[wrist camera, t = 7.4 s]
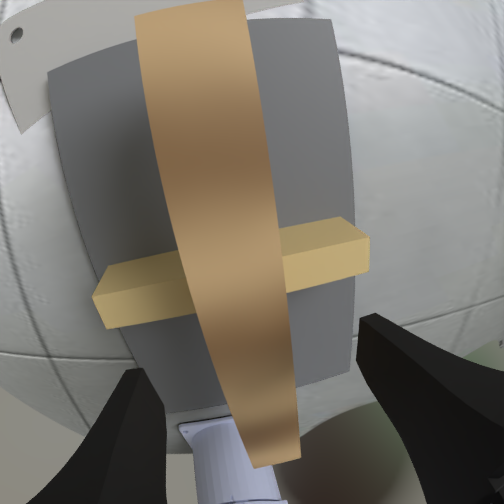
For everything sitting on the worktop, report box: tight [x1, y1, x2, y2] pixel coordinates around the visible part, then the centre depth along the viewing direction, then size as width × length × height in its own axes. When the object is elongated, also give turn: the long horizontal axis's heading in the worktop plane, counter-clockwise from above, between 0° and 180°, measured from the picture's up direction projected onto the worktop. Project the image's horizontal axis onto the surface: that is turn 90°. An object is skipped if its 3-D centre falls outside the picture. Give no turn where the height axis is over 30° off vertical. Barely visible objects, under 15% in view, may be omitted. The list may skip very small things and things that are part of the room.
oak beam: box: [134, 0, 301, 469], centre depth 12 cm, size 22×3×4 cm, turn 9°
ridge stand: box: [47, 18, 370, 413], centre depth 16 cm, size 26×16×4 cm, turn 9°
